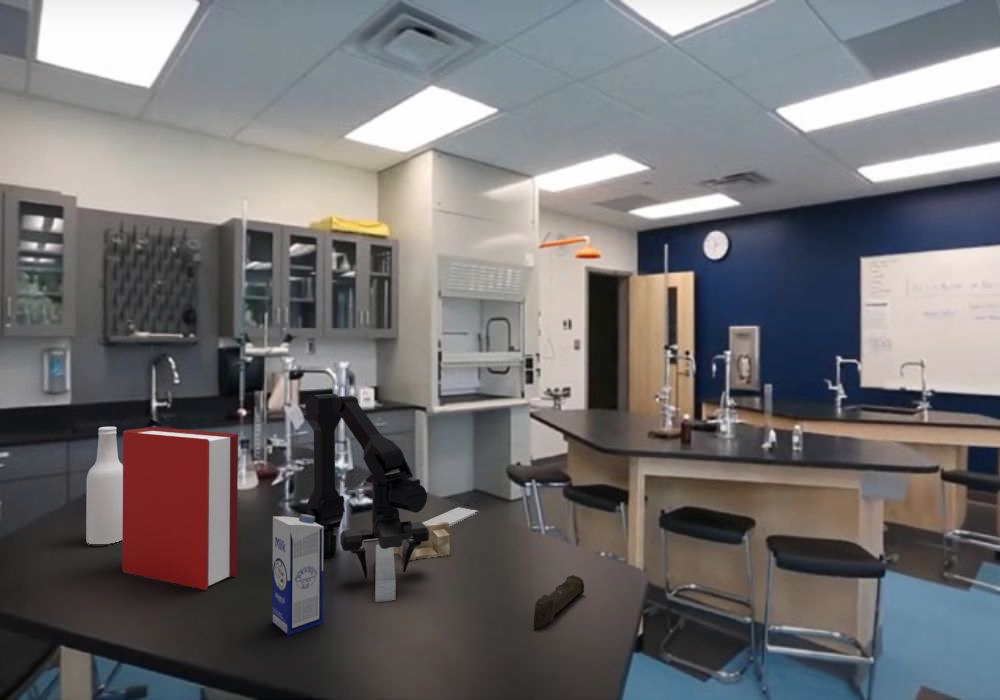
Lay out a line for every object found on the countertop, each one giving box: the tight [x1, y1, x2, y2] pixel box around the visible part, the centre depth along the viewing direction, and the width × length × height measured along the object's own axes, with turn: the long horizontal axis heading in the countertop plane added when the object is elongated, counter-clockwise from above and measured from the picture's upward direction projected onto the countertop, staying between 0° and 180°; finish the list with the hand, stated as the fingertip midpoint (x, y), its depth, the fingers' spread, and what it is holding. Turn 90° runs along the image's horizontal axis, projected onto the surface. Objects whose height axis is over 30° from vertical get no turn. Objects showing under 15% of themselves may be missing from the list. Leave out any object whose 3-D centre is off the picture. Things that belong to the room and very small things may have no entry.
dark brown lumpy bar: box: [533, 575, 585, 629], centre depth 113 cm, size 19×4×5 cm, turn 147°
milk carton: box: [271, 513, 324, 636], centre depth 106 cm, size 7×7×20 cm
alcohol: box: [85, 426, 123, 545], centre depth 150 cm, size 9×9×30 cm
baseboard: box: [422, 503, 479, 528], centre depth 167 cm, size 30×3×10 cm
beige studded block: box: [393, 522, 451, 562], centre depth 143 cm, size 15×8×6 cm, turn 112°
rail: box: [374, 544, 397, 603], centre depth 127 cm, size 4×22×4 cm, turn 12°
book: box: [121, 426, 239, 591], centre depth 129 cm, size 27×8×32 cm, turn 68°
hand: (384, 574), depth 127 cm, fingers open, 8 cm apart
